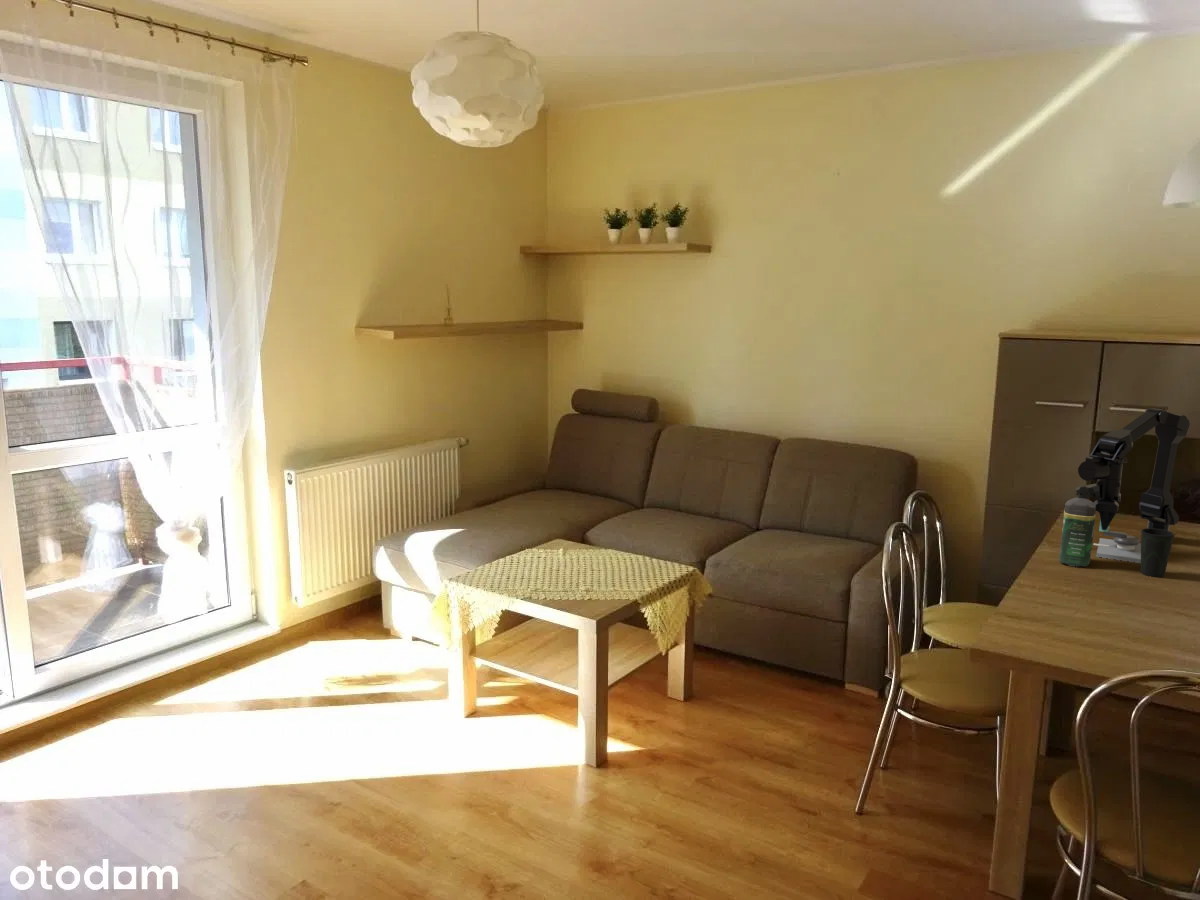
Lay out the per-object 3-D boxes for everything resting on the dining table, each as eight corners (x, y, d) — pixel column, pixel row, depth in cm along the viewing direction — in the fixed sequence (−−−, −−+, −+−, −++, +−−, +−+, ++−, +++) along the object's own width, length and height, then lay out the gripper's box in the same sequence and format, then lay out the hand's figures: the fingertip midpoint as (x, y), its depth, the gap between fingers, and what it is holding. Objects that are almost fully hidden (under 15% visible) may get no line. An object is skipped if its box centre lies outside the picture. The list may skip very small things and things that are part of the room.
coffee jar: (1089, 569, 245) (1096, 505, 242) (1057, 564, 249) (1064, 501, 246) (1090, 560, 253) (1097, 497, 250) (1060, 555, 257) (1066, 494, 254)
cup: (1167, 580, 236) (1172, 537, 234) (1134, 574, 241) (1139, 532, 238) (1170, 573, 242) (1175, 531, 240) (1138, 567, 247) (1143, 526, 244)
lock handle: (1098, 535, 266) (1101, 511, 264) (1138, 541, 260) (1141, 516, 259) (1097, 541, 260) (1100, 516, 259) (1138, 546, 255) (1141, 521, 254)
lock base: (1094, 541, 272) (1095, 531, 271) (1152, 548, 264) (1153, 539, 263) (1091, 556, 257) (1092, 546, 256) (1152, 565, 249) (1153, 555, 248)
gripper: (1081, 469, 271) (1076, 517, 274) (1076, 480, 255) (1070, 532, 258) (1123, 473, 265) (1117, 523, 268) (1120, 485, 250) (1114, 537, 253)
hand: (1104, 528), depth 262 cm, fingers closed on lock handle, 2 cm apart
